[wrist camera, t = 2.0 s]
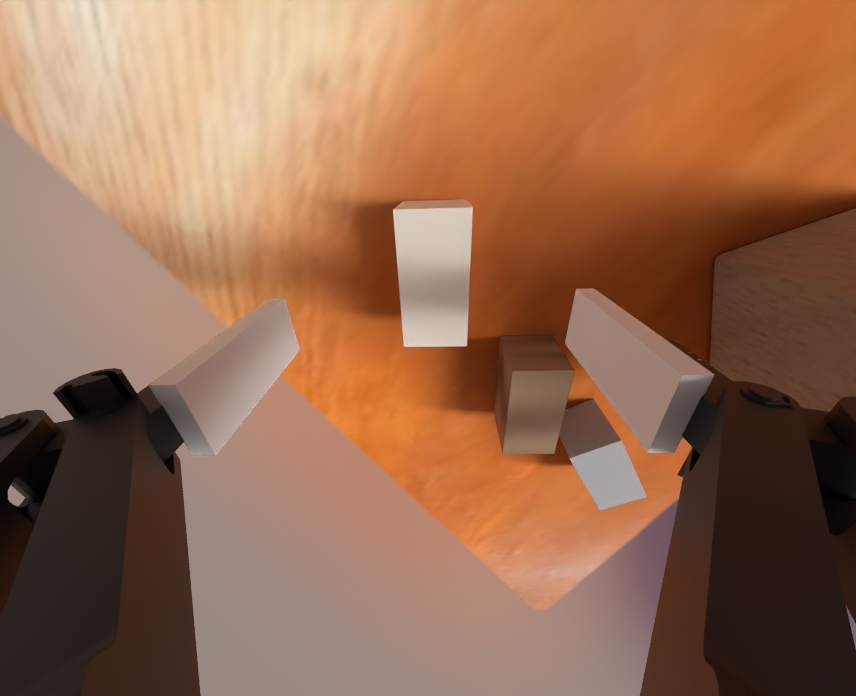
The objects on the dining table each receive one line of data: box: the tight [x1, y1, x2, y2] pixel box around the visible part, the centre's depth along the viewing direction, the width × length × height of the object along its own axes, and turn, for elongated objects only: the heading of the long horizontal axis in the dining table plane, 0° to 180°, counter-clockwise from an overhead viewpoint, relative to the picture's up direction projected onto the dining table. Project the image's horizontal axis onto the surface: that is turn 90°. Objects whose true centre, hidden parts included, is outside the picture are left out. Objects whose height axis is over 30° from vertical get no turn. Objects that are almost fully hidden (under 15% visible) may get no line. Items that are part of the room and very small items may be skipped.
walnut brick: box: [494, 335, 575, 454], centre depth 24 cm, size 8×4×5 cm, turn 3°
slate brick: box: [559, 399, 647, 510], centre depth 27 cm, size 8×4×5 cm, turn 33°
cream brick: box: [393, 199, 473, 347], centre depth 19 cm, size 8×4×5 cm, turn 2°
